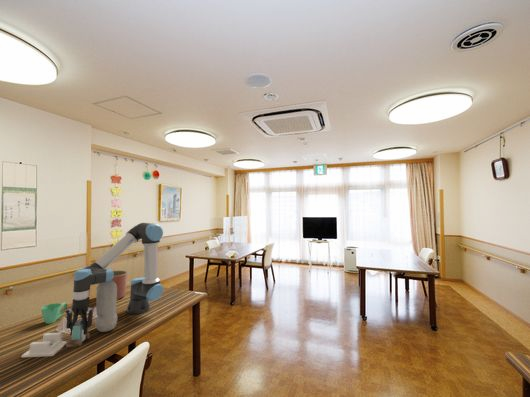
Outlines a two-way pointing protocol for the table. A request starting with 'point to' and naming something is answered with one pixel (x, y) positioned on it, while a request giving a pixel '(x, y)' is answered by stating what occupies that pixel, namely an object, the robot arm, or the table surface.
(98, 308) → the sculpture
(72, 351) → the table surface
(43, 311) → the mug
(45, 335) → the port
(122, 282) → the planter
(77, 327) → the plug
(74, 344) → the holster
